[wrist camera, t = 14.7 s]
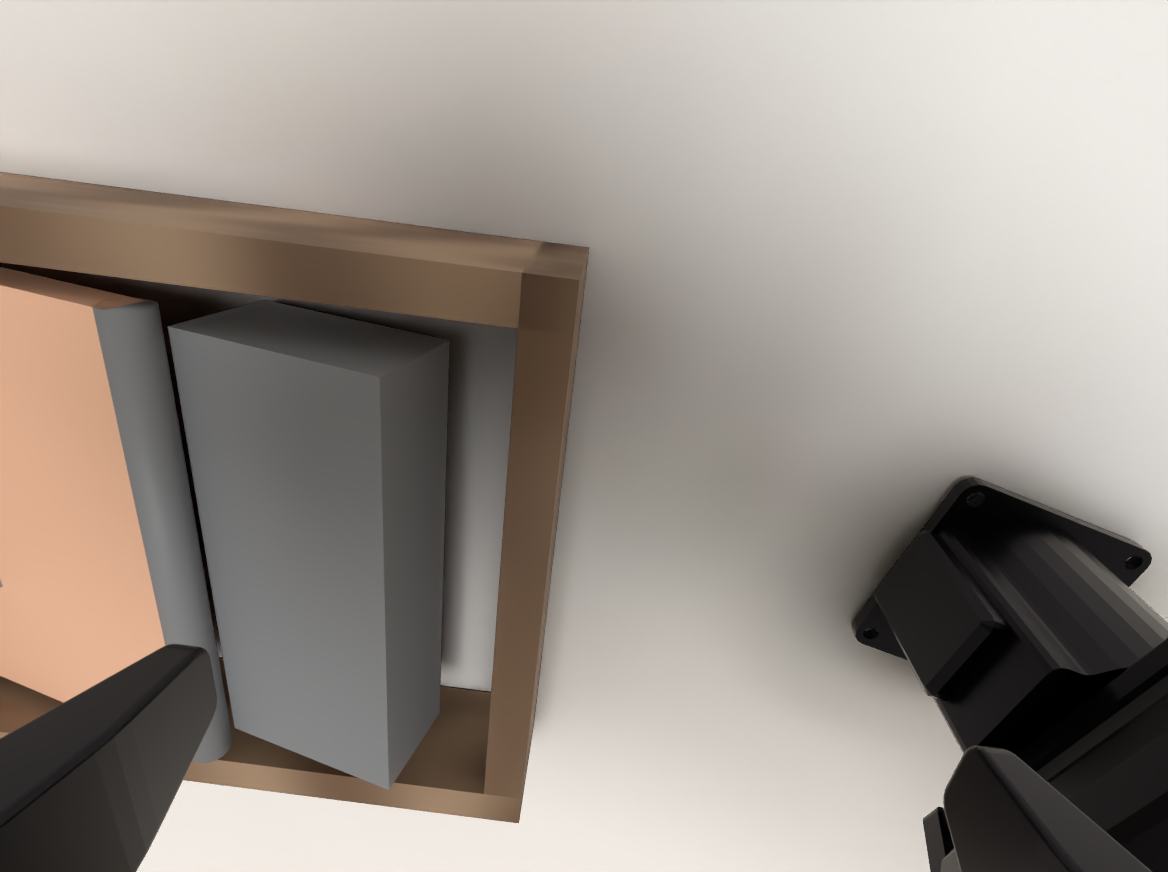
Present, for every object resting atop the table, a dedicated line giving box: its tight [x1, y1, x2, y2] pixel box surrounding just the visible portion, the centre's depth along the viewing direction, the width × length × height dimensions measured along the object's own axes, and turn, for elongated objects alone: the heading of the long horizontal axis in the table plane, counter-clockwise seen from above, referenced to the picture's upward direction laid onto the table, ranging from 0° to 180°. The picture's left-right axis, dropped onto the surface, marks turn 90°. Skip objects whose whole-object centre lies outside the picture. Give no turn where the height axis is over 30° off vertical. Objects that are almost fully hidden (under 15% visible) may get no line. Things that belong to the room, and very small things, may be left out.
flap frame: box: [0, 172, 589, 823], centre depth 19 cm, size 25×18×4 cm
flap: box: [0, 267, 449, 790], centre depth 19 cm, size 20×14×4 cm
